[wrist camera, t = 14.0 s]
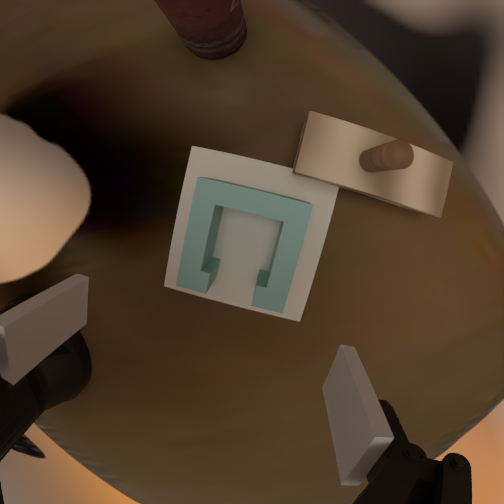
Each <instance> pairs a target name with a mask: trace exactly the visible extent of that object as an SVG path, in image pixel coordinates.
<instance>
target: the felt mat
mask: <svg viewBox="0 0 504 504" xmlns="http://www.w3.org/2000/svg"><path fill="white" fill-rule="evenodd" d="M292 170H293V169H292V168H288V167H285V166H281V165H277V164H273V163H269V162H264V161H260V160H256V159H252V158H247V157H243V156H239V155H234V154H229V153H225V152H220V151H215V150H210V149H205V148H200V147H195V146H192V149H191V153H190V157H189V162H188V166H187V170H186V174H185V179H184V183H183V188H182V192H181V197H180V202H179V207H178V211H177V216H176V221H175V226H174V232H173V237H172V242H171V248H170V253H169V259H168V265H167V270H166V276H165V282H164V286H165V287H168V288H172V289H175V290H179V291H182V292H186V293H189V294H193V295H197V296H200V297H204V298H207V299H211V300H215V301H219V302H222V303H226V304H230V305H234V306H238V307H242V308H246V309H249V310H253V311H257V312H261V313H266V314H270V315H274V316H278V317H282V318H286V319H291V320H295V321H299V322H300V320H301V317H302V314H303V311H304V307H305V304H306V301H307V298H308V295H309V292H310V288H311V285H312V282H313V279H314V275H315V272H316V269H317V265H318V262H319V258H320V255H321V252H322V248H323V245H324V241H325V238H326V234H327V230H328V227H329V223H330V219H331V216H332V212H333V208H334V205H335V201H336V197H337V193H338V189H339V187H337V186H334V185H330V184H327V183H323V182H319V181H316V180H312V179H309V178H305V177H301V176H297V175H294V174H292ZM198 177H207V178H214V179H218V180H223V181H227V182H231V183H236V184H240V185H244V186H248V187H252V188H257V189H261V190H265V191H269V192H273V193H277V194H281V195H284V196H288V197H292V198H296V199H300V200H303V201H307V202H309V203H311V204H313V207H312V211H311V214H310V218H309V222H308V226H307V229H306V233H305V237H304V240H303V244H302V248H301V251H300V255H299V258H298V262H297V265H296V269H295V272H294V276H293V279H292V283H291V286H290V290H289V293H288V297H287V300H286V303H285V307H284V310H283V313H278V312H274V311H270V310H266V309H262V308H258V307H254V306H251V305H252V300H253V295H254V290H255V286H256V282H257V278H258V274H259V270H260V269H261V270H265V271H268V269H269V266H270V262H271V258H272V254H273V250H274V247H275V243H276V239H277V235H278V231H279V227H280V224H281V221H279V220H276V219H272V218H268V217H264V216H260V215H256V214H252V213H248V212H244V211H239V210H235V209H231V208H227V207H224V208H223V212H222V217H221V221H220V225H219V230H218V234H217V239H216V243H215V248H214V252H213V257H214V258H218V259H221V260H220V264H219V269H218V273H217V277H216V279H215V280H214V282H213V283H212V285H211V287H210V288H209V290H208V291H207V293H206V294H204V293H200V292H197V291H193V290H189V289H186V288H182V287H179V286H176V282H177V276H178V271H179V265H180V260H181V254H182V249H183V244H184V239H185V234H186V229H187V224H188V219H189V214H190V210H191V205H192V200H193V196H194V191H195V187H196V182H197V178H198Z"/></svg>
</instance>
